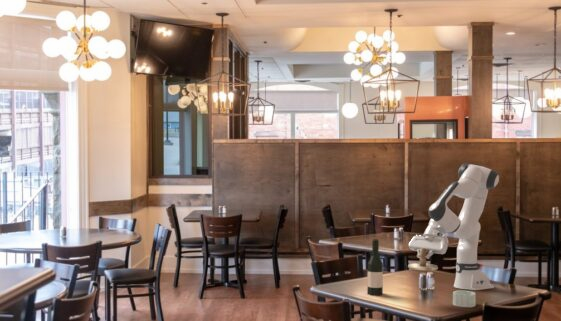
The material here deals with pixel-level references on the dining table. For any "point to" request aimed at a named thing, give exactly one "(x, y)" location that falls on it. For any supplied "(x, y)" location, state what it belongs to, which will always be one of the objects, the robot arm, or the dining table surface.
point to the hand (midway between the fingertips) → (422, 257)
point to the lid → (422, 263)
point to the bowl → (464, 298)
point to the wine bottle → (375, 271)
